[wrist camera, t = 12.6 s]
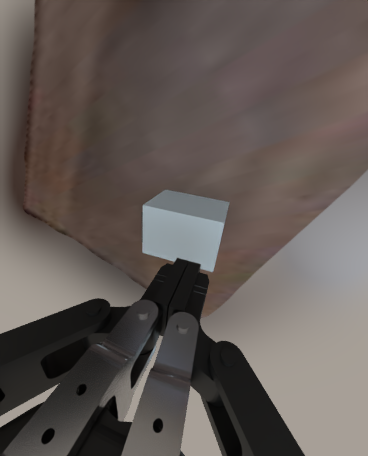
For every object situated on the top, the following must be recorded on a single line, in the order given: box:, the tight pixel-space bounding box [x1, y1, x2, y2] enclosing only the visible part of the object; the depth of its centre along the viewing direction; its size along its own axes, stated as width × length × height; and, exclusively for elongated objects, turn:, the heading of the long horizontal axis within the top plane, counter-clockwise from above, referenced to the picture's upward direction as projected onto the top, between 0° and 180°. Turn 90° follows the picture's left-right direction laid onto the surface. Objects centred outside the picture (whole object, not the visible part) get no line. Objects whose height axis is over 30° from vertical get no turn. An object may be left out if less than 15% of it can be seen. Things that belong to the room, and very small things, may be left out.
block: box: [142, 190, 230, 272], centre depth 38 cm, size 15×10×10 cm
